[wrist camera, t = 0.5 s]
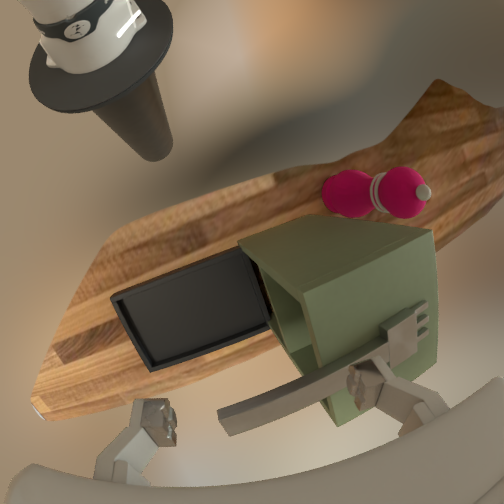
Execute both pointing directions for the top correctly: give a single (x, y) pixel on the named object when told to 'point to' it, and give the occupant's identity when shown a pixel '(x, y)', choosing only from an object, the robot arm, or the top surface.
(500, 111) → the top surface
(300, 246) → the shelf
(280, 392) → the fork
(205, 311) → the tray
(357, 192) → the pepper mill
